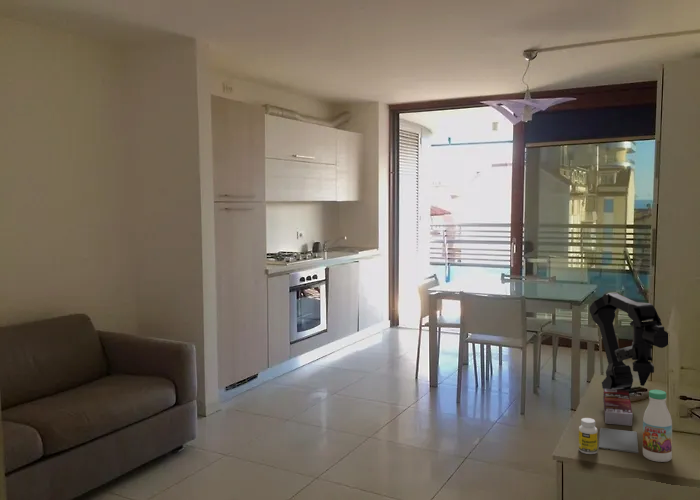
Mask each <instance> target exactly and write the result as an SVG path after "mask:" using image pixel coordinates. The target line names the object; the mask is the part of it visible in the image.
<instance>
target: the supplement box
mask: <svg viewBox="0 0 700 500" xmlns="http://www.w3.org/2000/svg"><path fill="white" fill-rule="evenodd" d="M602 399H603V401H602V402H603V411H604V413H603V414H604V423H605V424H607V425H608V424H609V425H618V426H619V425H620V426H630V427H632V426H633V415H634V414H633V408H632V403H631V402H632V401H631V396H630V390H615V389H603V396H602Z"/></svg>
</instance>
